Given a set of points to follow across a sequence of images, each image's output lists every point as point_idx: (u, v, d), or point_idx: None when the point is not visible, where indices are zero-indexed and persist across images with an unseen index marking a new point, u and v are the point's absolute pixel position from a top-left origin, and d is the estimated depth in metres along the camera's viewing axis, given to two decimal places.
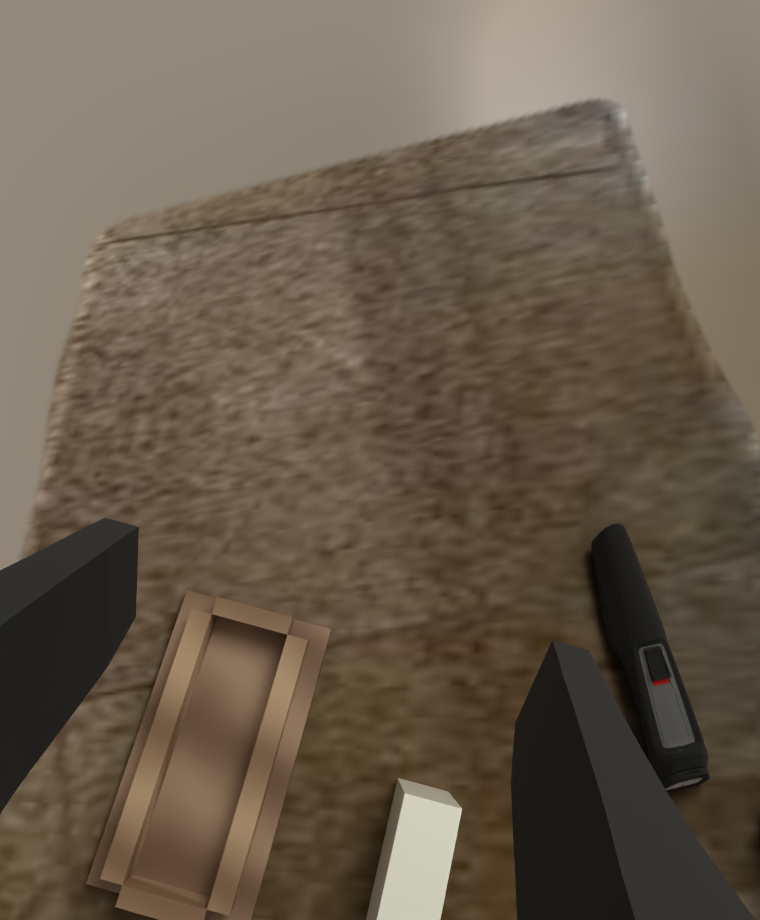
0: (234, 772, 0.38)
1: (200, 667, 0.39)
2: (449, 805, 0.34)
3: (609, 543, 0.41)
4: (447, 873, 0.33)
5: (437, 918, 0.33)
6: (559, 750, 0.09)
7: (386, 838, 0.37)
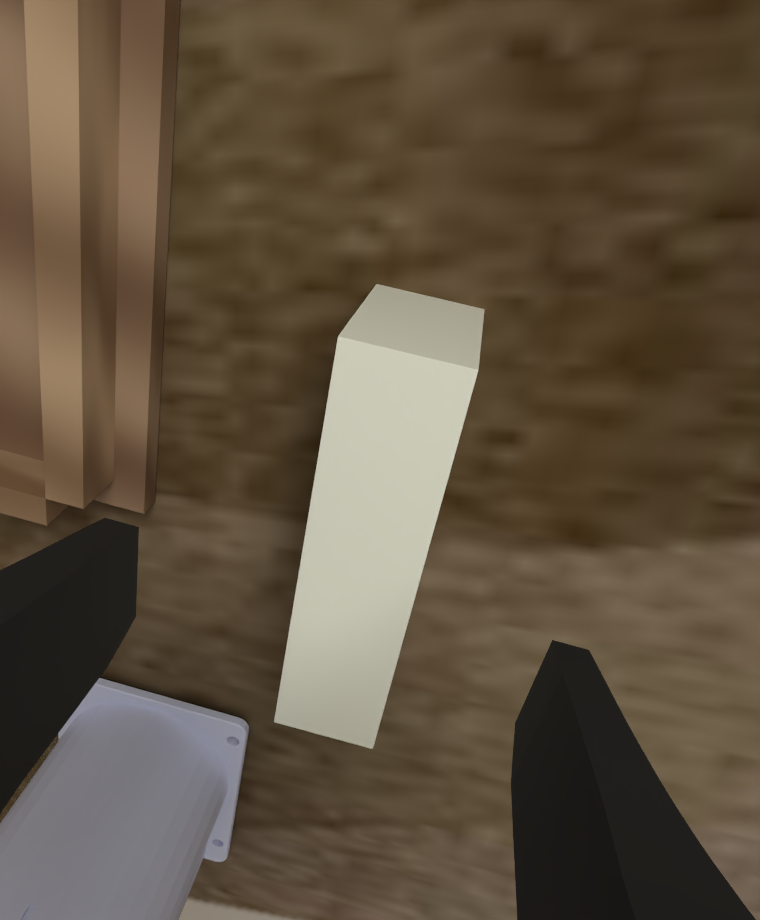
0: None
1: None
2: (448, 361, 0.14)
3: None
4: (441, 489, 0.15)
5: (420, 558, 0.16)
6: (558, 750, 0.09)
7: None
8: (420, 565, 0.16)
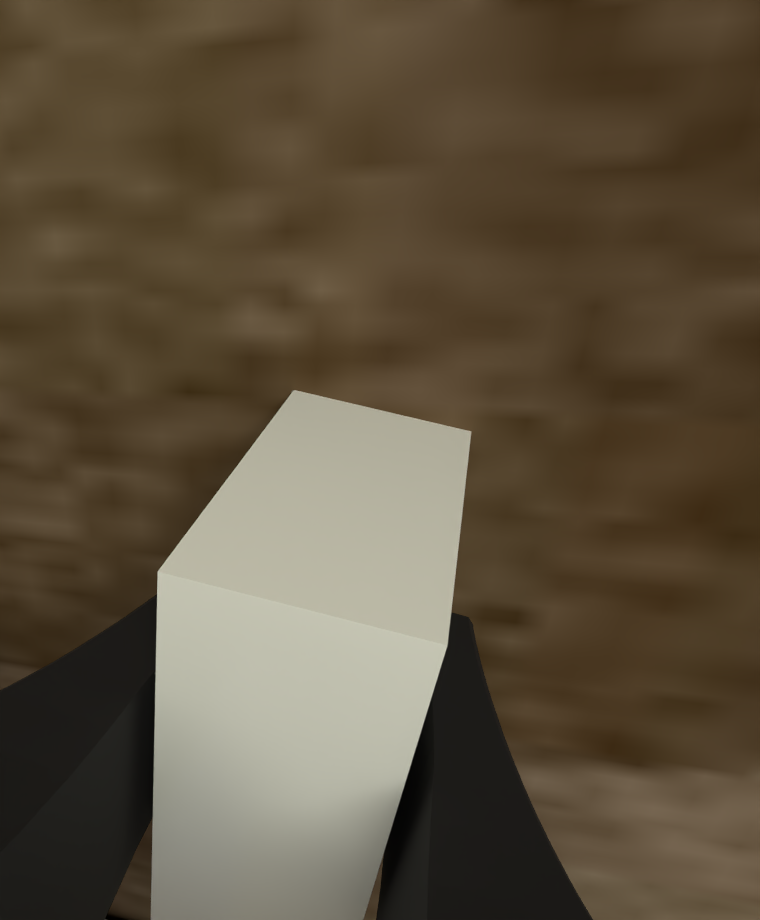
0: None
1: None
2: (385, 623, 0.07)
3: None
4: (385, 824, 0.08)
5: (355, 910, 0.09)
6: None
7: None
8: None
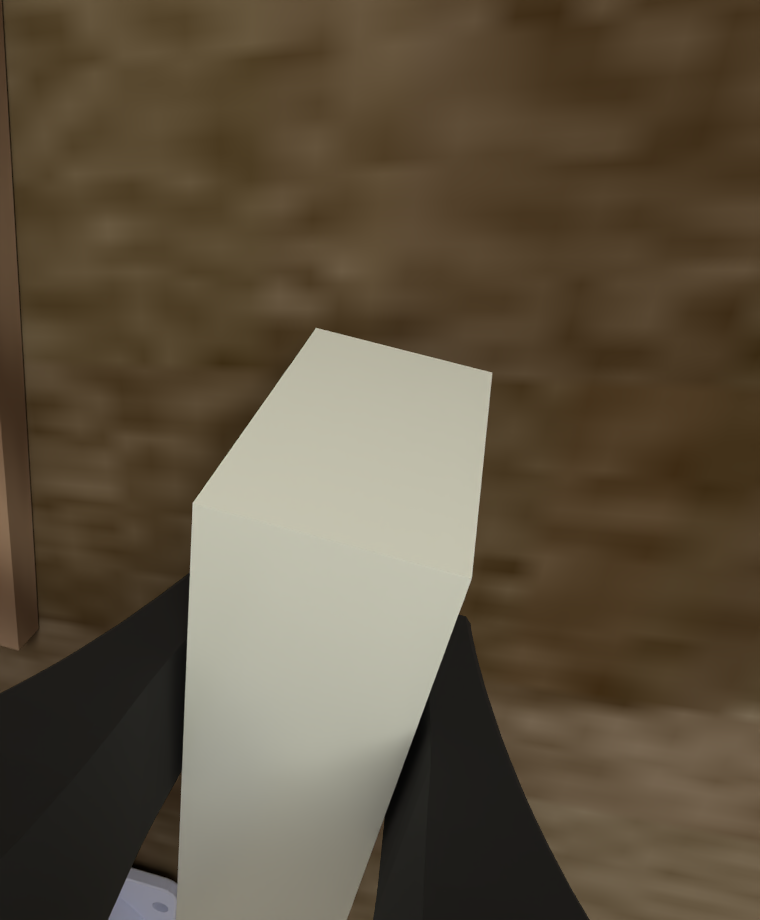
0: None
1: None
2: (412, 556, 0.07)
3: None
4: (404, 744, 0.09)
5: (372, 821, 0.10)
6: None
7: None
8: (373, 832, 0.10)
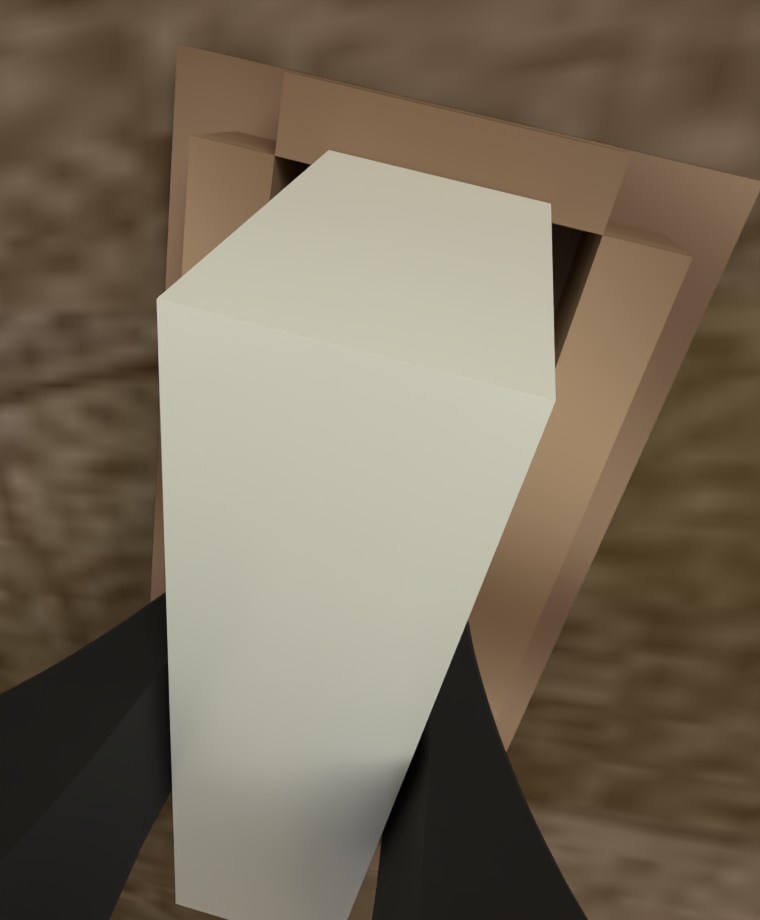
0: None
1: None
2: (469, 373, 0.05)
3: None
4: (447, 649, 0.07)
5: (402, 749, 0.08)
6: None
7: None
8: (403, 762, 0.08)
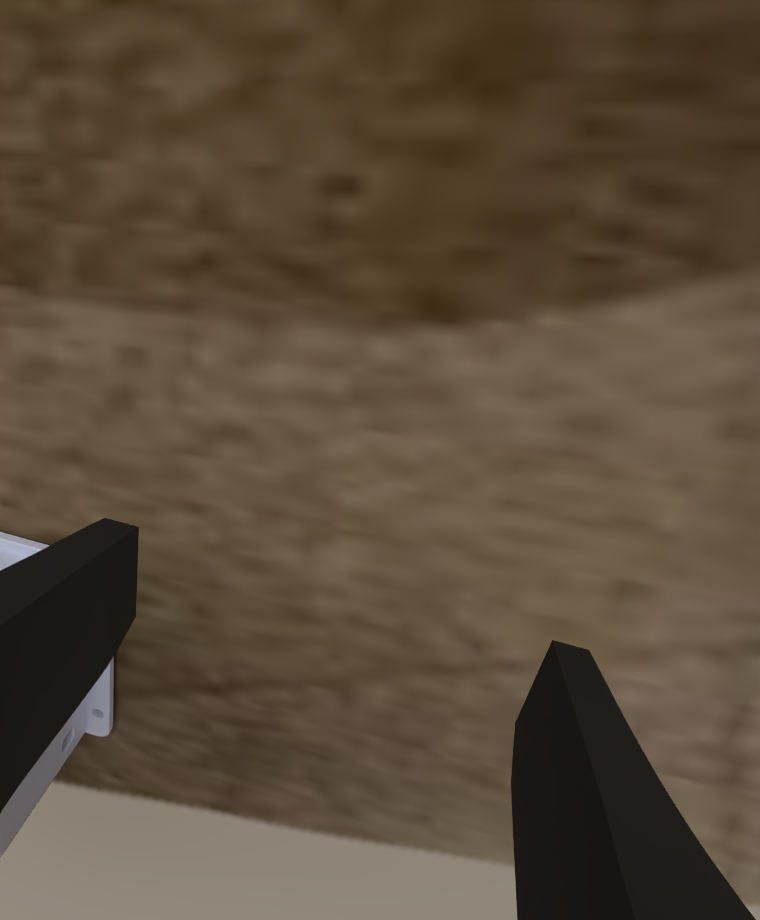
0: None
1: None
2: None
3: None
4: None
5: None
6: (559, 751, 0.09)
7: None
8: None
